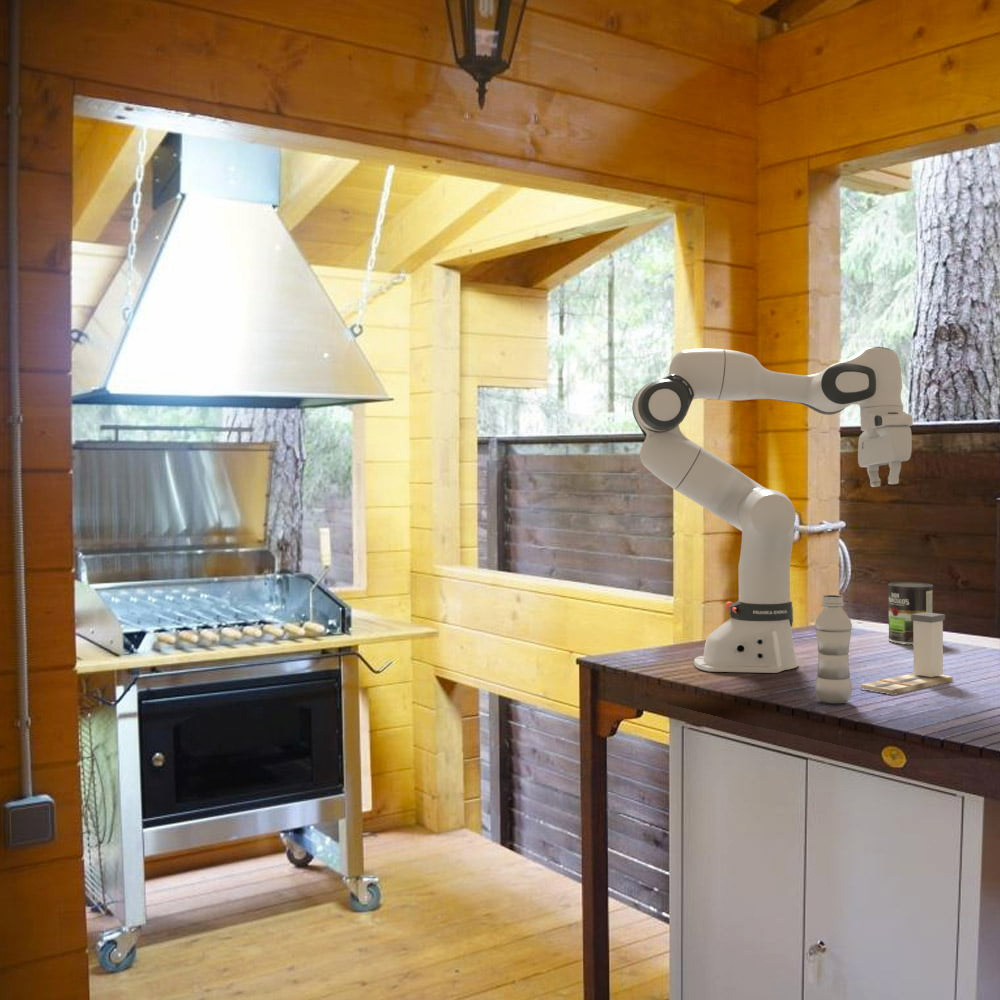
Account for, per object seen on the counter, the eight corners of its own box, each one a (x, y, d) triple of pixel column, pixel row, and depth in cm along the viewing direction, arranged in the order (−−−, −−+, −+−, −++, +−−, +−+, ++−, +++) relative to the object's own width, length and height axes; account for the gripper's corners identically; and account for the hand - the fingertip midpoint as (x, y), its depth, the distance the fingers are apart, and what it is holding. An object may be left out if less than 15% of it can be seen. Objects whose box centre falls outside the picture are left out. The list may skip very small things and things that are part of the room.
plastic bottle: (823, 697, 212) (822, 593, 212) (858, 702, 208) (857, 595, 207) (809, 703, 207) (808, 596, 207) (844, 708, 203) (843, 599, 202)
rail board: (922, 676, 230) (922, 670, 230) (952, 681, 225) (952, 675, 225) (860, 689, 219) (860, 683, 219) (891, 695, 213) (891, 689, 213)
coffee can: (910, 646, 266) (910, 587, 265) (879, 640, 275) (878, 583, 274) (942, 642, 270) (942, 584, 269) (910, 637, 279) (910, 581, 279)
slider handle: (925, 671, 229) (924, 612, 229) (945, 674, 225) (944, 614, 225) (911, 674, 226) (911, 614, 226) (931, 677, 223) (931, 616, 222)
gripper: (849, 427, 252) (851, 488, 252) (886, 416, 232) (889, 482, 231) (876, 427, 253) (879, 487, 252) (916, 416, 232) (919, 482, 232)
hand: (884, 485), depth 241 cm, fingers open, 8 cm apart
